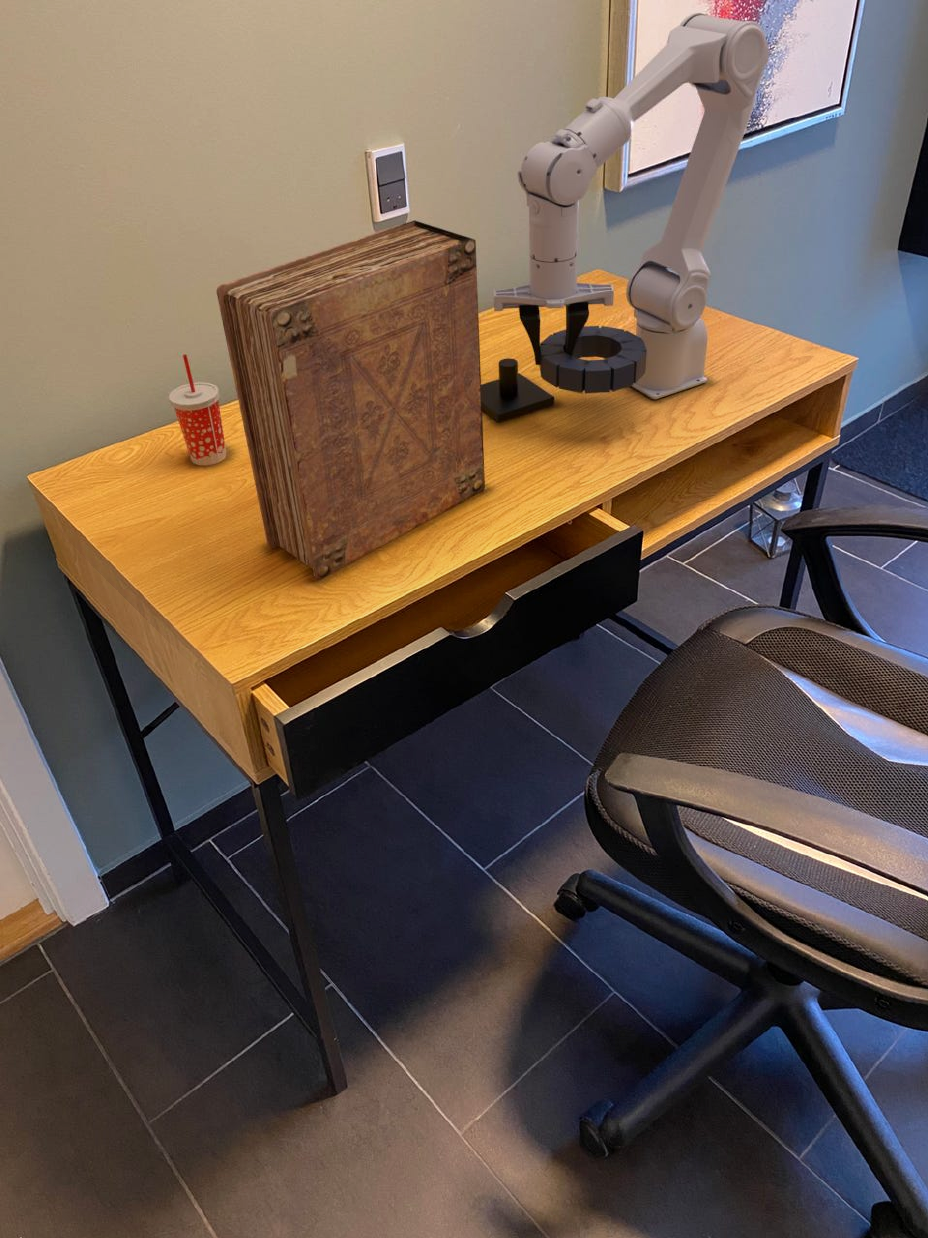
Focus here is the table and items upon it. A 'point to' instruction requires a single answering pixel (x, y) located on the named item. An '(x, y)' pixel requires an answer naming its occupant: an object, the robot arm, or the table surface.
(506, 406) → the peg stand
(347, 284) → the book
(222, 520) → the table surface
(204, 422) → the beverage cup
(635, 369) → the hoop
